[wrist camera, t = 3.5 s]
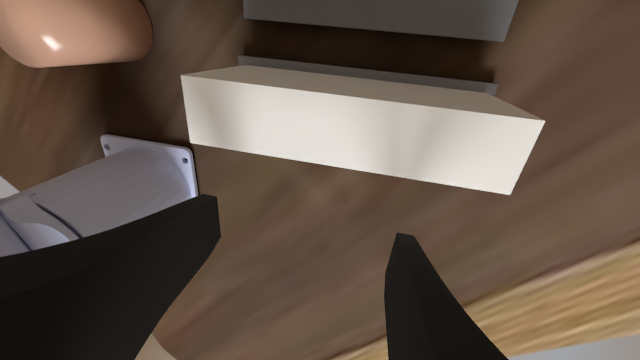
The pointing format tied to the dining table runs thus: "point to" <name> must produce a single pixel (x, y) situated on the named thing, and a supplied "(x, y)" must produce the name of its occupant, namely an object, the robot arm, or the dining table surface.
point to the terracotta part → (74, 31)
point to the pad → (394, 15)
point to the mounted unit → (363, 120)
